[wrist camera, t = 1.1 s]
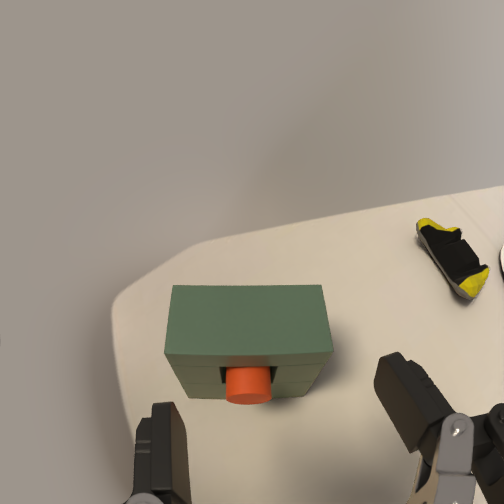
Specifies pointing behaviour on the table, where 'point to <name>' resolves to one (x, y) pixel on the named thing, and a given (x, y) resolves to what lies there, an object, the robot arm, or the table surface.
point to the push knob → (248, 385)
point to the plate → (502, 258)
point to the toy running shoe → (453, 257)
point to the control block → (247, 336)
